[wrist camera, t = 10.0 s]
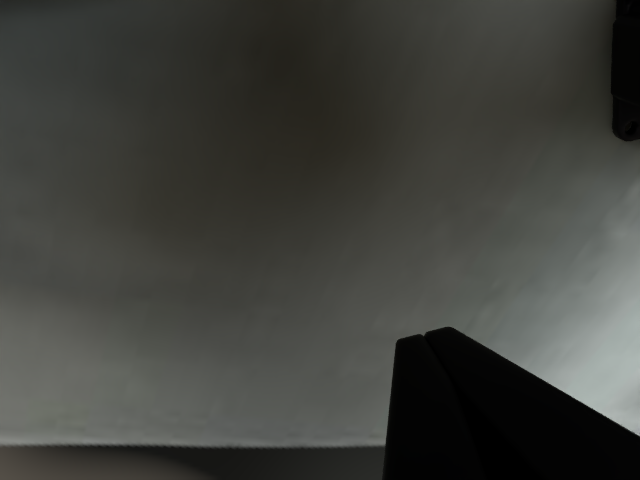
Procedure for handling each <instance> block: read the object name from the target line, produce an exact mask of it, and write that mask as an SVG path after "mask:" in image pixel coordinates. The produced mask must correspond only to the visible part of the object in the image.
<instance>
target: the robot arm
mask: <svg viewBox="0 0 640 480" xmlns="http://www.w3.org/2000/svg"><path fill="white" fill-rule="evenodd" d="M611 94H612V95H613V119H612V130H613V133H614V135H615V136H616V137H618V138H620V139H622V140H624V141H633V140H637V139H640V0H617V4H616V20H615V22H614V24H613V36H612V67H611ZM629 122H632V124H631V127H630V128H629V130H627V131H625V127H626V125H627V124H628V123H629ZM382 480H640V436H638V435H637V434H635V433H633V432H631V431H630V430H628V429H626V428H625V427H623V426H621V425H619V424H618V423H616V422H614V421H613V420H611V419H609V418H607V417H606V416H604V415H602V414H600V413H599V412H597V411H595V410H594V409H592V408H590V407H588V406H587V405H585V404H583V403H582V402H580V401H578V400H576V399H575V398H573V397H571V396H569V395H568V394H566V393H564V392H563V391H561V390H559V389H557V388H556V387H554V386H552V385H551V384H549V383H547V382H545V381H544V380H542V379H540V378H539V377H537V376H535V375H533V374H532V373H530V372H528V371H526V370H525V369H523V368H521V367H520V366H518V365H516V364H514V363H513V362H511V361H509V360H508V359H506V358H504V357H502V356H501V355H499V354H497V353H495V352H494V351H492V350H490V349H489V348H487V347H485V346H483V345H482V344H480V343H478V342H477V341H475V340H473V339H471V338H470V337H468V336H466V335H465V334H463V333H461V332H459V331H458V330H456V329H454V328H452V327H444V328H440V329H436V330H432V331H428V332H426V333H425V335H424V336H423V335H421V334H417V335H413V336H409V337H405V338H402V339H399V340H398V341H397V342H396V347H395V357H394V367H393V377H392V387H391V396H390V406H389V416H388V426H387V436H386V446H385V456H384V466H383V476H382Z"/></svg>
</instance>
